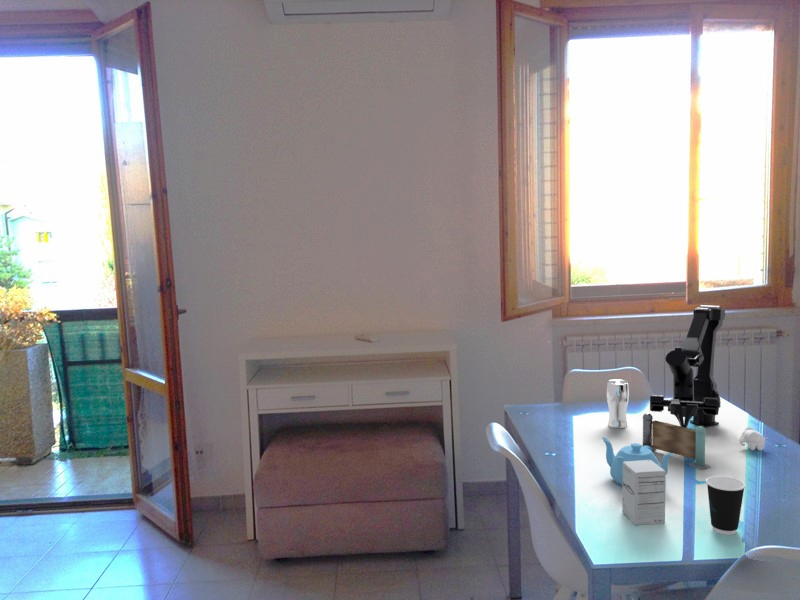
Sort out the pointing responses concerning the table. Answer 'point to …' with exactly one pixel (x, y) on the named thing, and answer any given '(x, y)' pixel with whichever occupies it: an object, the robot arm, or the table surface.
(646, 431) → the hinge post
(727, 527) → the dixie cup
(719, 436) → the table surface
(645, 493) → the supplement box
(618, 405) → the beer glass
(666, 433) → the gate
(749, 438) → the elephant figurine
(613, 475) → the teapot
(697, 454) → the post
